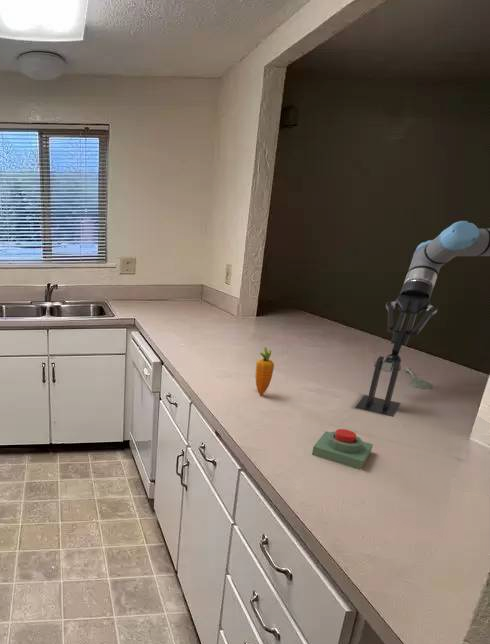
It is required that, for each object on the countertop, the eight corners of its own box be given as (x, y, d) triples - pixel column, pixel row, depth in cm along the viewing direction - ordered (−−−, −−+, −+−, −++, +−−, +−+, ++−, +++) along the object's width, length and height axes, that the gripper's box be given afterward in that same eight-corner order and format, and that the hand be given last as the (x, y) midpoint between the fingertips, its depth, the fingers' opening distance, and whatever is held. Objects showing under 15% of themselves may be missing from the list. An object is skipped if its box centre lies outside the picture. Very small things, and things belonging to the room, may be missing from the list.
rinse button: (337, 434, 102) (338, 427, 101) (356, 439, 99) (358, 432, 99) (332, 440, 99) (333, 433, 98) (352, 445, 96) (353, 438, 96)
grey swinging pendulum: (385, 363, 129) (388, 351, 128) (399, 365, 126) (403, 354, 125) (377, 371, 119) (380, 359, 118) (392, 374, 117) (396, 361, 116)
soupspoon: (407, 393, 136) (432, 397, 133) (410, 383, 134) (436, 387, 132) (396, 370, 154) (418, 373, 151) (399, 361, 152) (421, 364, 150)
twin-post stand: (363, 399, 130) (374, 351, 125) (399, 407, 124) (412, 357, 119) (354, 411, 122) (365, 361, 117) (392, 420, 116) (405, 368, 111)
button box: (323, 439, 107) (326, 424, 106) (370, 452, 101) (374, 437, 99) (311, 454, 100) (314, 439, 99) (361, 470, 94) (365, 453, 92)
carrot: (268, 399, 131) (275, 351, 125) (250, 396, 133) (257, 349, 128) (270, 393, 135) (277, 347, 129) (253, 391, 137) (260, 345, 132)
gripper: (443, 297, 130) (421, 363, 124) (391, 292, 138) (369, 355, 133) (446, 281, 124) (424, 350, 119) (392, 277, 132) (369, 342, 127)
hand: (395, 352), depth 126 cm, fingers closed
